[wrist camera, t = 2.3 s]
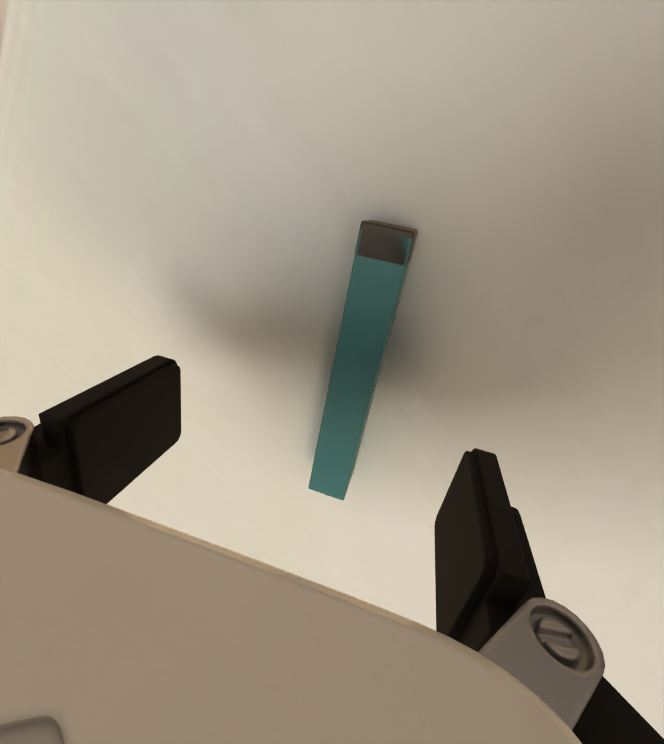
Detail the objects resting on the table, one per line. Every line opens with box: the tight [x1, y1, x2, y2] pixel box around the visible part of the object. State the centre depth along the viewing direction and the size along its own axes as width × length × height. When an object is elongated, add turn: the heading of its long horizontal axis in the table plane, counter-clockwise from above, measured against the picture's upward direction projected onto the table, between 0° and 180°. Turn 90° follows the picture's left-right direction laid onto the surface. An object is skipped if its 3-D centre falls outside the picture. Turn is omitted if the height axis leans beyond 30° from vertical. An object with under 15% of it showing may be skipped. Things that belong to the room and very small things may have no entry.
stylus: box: [309, 220, 417, 500], centre depth 15 cm, size 13×2×2 cm, turn 169°
